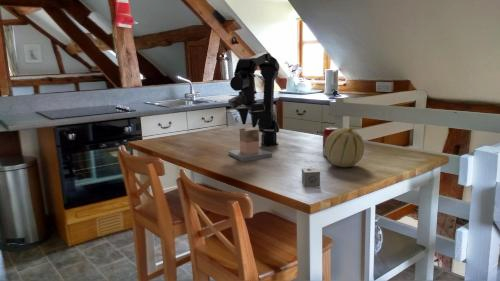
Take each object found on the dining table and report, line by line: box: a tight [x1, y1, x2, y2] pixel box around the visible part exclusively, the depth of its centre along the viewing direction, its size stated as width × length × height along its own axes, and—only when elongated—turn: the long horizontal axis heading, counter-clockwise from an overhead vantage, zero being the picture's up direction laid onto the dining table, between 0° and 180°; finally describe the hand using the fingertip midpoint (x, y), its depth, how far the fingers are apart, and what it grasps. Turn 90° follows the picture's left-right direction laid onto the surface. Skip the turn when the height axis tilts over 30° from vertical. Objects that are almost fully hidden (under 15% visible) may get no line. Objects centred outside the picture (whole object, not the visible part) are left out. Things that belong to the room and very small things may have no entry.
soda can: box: [322, 126, 339, 158], centre depth 163 cm, size 7×7×12 cm
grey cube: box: [301, 167, 321, 188], centre depth 128 cm, size 5×5×5 cm
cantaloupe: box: [325, 127, 365, 168], centre depth 147 cm, size 15×15×15 cm
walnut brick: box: [239, 127, 260, 143], centre depth 167 cm, size 6×6×5 cm
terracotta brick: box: [239, 140, 260, 154], centre depth 168 cm, size 6×6×5 cm
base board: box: [227, 147, 273, 162], centre depth 169 cm, size 14×14×2 cm
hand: (248, 125), depth 166 cm, fingers open, 9 cm apart
